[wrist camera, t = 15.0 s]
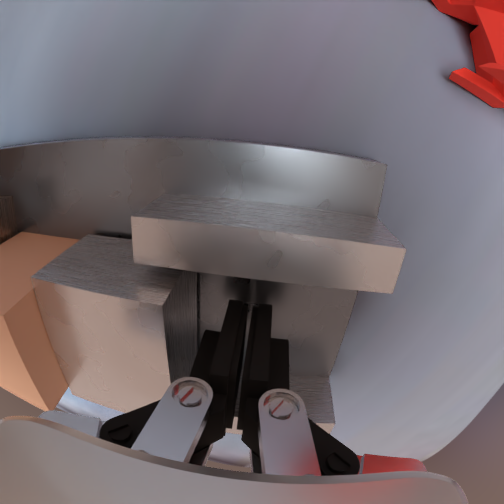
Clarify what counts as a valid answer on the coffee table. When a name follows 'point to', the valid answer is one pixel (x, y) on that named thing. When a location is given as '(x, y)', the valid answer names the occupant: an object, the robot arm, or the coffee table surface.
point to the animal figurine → (481, 47)
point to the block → (28, 321)
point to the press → (224, 229)
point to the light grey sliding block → (117, 322)
